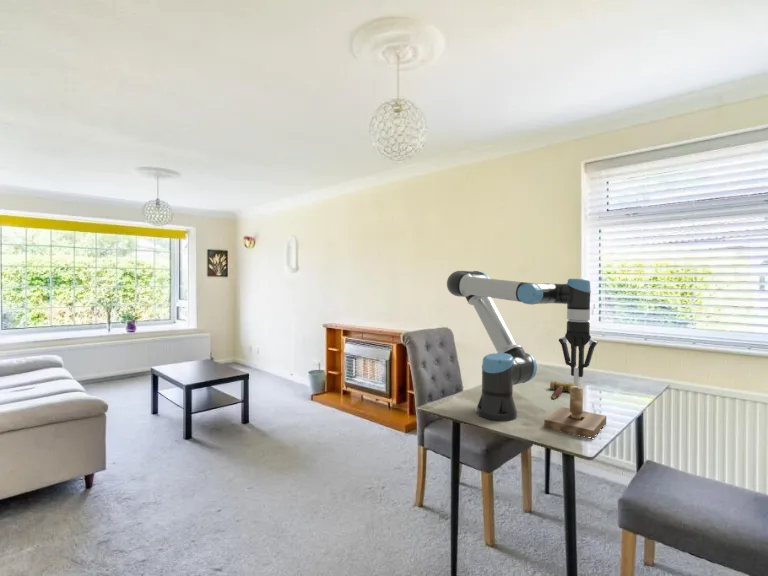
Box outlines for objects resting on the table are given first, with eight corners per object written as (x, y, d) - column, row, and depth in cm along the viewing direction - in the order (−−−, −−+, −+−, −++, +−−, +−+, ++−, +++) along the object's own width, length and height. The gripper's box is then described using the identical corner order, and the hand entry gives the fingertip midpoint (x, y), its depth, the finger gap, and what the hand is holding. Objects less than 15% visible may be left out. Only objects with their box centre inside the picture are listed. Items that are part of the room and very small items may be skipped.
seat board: (544, 427, 144) (544, 419, 144) (561, 414, 159) (561, 406, 159) (593, 439, 133) (593, 430, 133) (606, 423, 149) (606, 415, 149)
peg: (567, 425, 146) (568, 387, 146) (571, 422, 149) (572, 385, 149) (580, 428, 143) (581, 389, 143) (583, 425, 146) (584, 387, 146)
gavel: (565, 395, 176) (541, 391, 182) (565, 405, 176) (541, 401, 182) (574, 382, 193) (552, 379, 199) (573, 391, 194) (552, 388, 199)
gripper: (600, 321, 144) (599, 386, 145) (562, 318, 153) (561, 380, 153) (595, 322, 139) (594, 390, 139) (556, 320, 147) (555, 384, 147)
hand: (576, 385), depth 146 cm, fingers closed
